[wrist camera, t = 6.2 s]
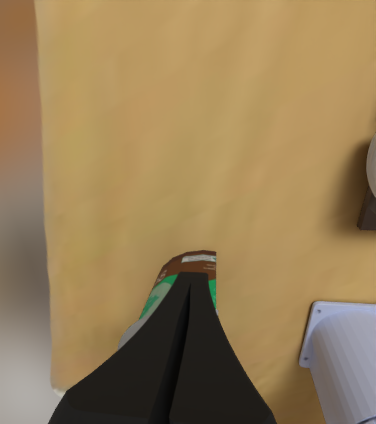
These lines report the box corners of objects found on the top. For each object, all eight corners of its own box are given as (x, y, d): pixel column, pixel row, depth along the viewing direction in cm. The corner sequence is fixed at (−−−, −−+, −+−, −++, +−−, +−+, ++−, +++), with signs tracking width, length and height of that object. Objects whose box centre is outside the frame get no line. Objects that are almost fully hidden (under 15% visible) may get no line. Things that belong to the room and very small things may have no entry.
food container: (150, 224, 23) (106, 317, 14) (219, 238, 23) (217, 340, 14) (141, 319, 29) (106, 426, 20) (196, 330, 29) (184, 444, 20)
